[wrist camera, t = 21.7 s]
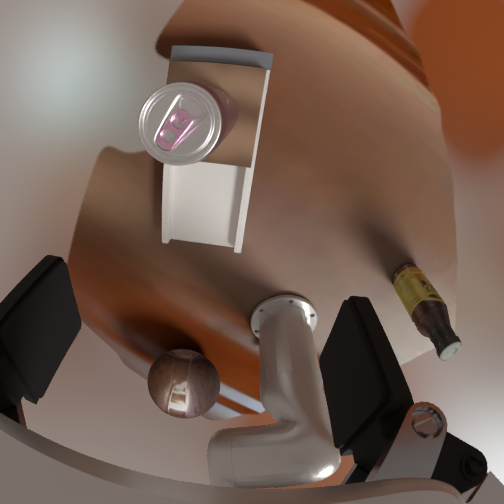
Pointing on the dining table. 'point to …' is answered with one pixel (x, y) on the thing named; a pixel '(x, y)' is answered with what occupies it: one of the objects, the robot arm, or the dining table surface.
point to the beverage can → (185, 122)
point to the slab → (244, 94)
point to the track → (211, 173)
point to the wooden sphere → (183, 383)
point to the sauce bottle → (426, 310)
